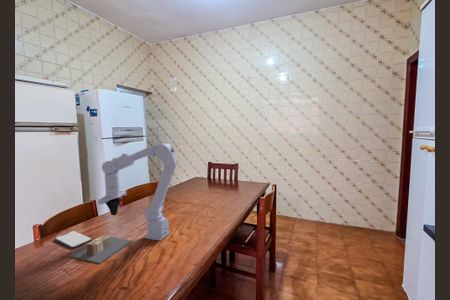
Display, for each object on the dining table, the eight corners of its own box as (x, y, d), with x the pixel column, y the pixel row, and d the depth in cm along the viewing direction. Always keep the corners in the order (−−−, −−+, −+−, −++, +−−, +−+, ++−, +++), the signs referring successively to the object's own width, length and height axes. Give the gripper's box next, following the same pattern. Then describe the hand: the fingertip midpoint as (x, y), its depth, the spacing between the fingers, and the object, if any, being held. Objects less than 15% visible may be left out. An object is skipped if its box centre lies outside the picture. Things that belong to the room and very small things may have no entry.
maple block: (110, 236, 93) (94, 245, 85) (110, 245, 93) (94, 255, 85) (102, 234, 94) (86, 243, 86) (103, 243, 94) (86, 253, 87)
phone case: (93, 241, 98) (74, 233, 106) (93, 238, 98) (74, 230, 106) (72, 251, 91) (53, 241, 98) (72, 247, 90) (53, 238, 98)
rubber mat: (132, 241, 97) (132, 240, 97) (100, 263, 81) (100, 262, 81) (104, 236, 102) (104, 235, 102) (68, 256, 86) (68, 255, 86)
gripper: (117, 181, 108) (118, 208, 109) (92, 189, 94) (93, 219, 96) (129, 182, 106) (130, 209, 107) (104, 190, 92) (106, 221, 94)
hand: (114, 214), depth 101 cm, fingers closed
